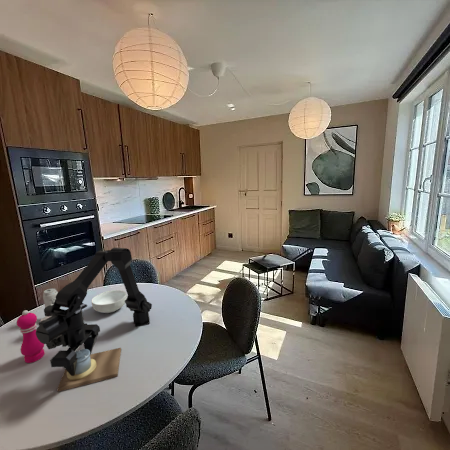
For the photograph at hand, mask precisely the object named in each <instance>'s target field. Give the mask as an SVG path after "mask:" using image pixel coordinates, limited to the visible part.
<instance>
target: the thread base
mask: <svg viewBox="0 0 450 450" xmlns="http://www.w3.org/2000/svg"><path fill="white" fill-rule="evenodd" d="M121 353H122V348H121V347H118V348H113V349H108V350H105V351H99V352H96V353H91V355H90V359H91V367H90V368H89V369H88V370H87V371H86V372H84V373H81V374H75V375H74V376H71V375H70V374H69V373H68V371H67V370H66V369H65V368H64V371H63V374H62V376H61V378H60V381H59V384H58V385H57V387H56V391H57V392H62V391H67V390H70V389H75V388H78V387H81V386H85V385H89V384H94V383H97V382H101V381H105V380H108V379H113V378H117V377H118V376H119V370H120V369H119V368H120V363H121V362H120V361H121V355H122V354H121Z"/></svg>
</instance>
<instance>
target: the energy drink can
mask: <svg viewBox="0 0 450 450" xmlns="http://www.w3.org/2000/svg"><path fill="white" fill-rule="evenodd" d="M58 292H59V291H58V290H57V288H48V289H46V290H44V291H43V294H42V299H43V304H44V309H45V308H46V307H47V306H49V305H52V304H54V302H55V300H56V298H55V297H56V295H57V293H58ZM60 309H62V307H60Z"/></svg>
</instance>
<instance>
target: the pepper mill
mask: <svg viewBox="0 0 450 450" xmlns="http://www.w3.org/2000/svg"><path fill="white" fill-rule="evenodd" d="M37 320H38V316H37V315H36V313H34V312H29V311H28V310H23V311H22V314H21V315H19V317H18V318H17V319H16V325H17V327H18V328H19V330H20V333H21V334H22V343H21V345H20V353H21V355H22V356H23V359H24V362H25V363H26V364H32V363H35V362H37V361H39V360H41V359H42V358H44V356H45V354H46V353H45V349H44V347H45V344H43V343H41V342H40V341H39V340H38V338H37V336H36V329H37V327H38V325H37V324H38V323H37Z"/></svg>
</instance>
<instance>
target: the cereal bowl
mask: <svg viewBox="0 0 450 450" xmlns="http://www.w3.org/2000/svg"><path fill="white" fill-rule="evenodd" d="M127 296H128V294H127V291H124V290H120V289H115V290H108V291H104V292H102V293H101V292H100V293H98V294H97V295H95V296H94V297H93V298H91V305H92V308H93V310H95V311H96V312H97V313H101V314H102V313H105V314H109V313H114V312H115V311H117V310H119V309H121V308H122V307H124V305H126V303H125V300H126V299H127Z"/></svg>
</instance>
